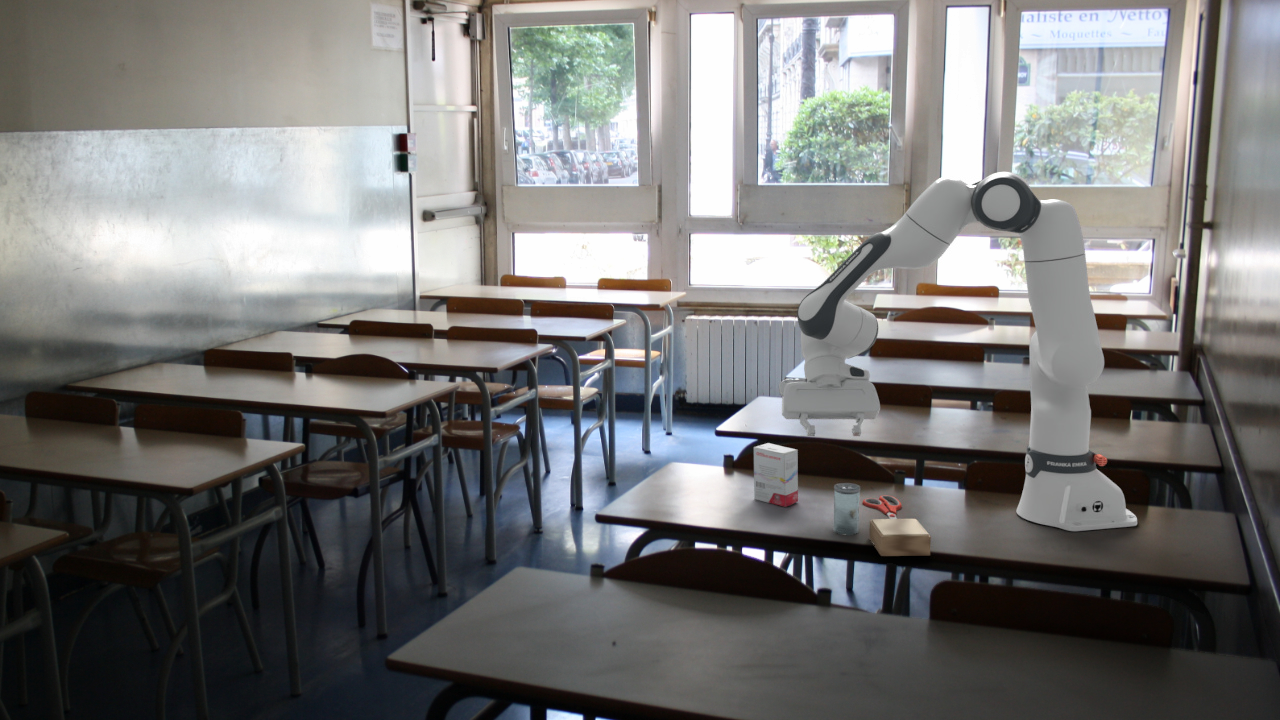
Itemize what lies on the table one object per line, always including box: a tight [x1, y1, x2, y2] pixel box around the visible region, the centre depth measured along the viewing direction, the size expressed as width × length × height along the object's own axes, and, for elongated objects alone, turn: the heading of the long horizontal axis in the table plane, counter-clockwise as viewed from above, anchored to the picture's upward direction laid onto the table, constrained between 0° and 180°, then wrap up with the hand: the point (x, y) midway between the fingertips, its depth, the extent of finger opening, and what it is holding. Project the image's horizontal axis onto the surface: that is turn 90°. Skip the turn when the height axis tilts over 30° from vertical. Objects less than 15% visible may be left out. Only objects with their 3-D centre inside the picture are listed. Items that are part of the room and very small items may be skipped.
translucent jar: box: [832, 482, 861, 536], centre depth 196 cm, size 5×5×9 cm
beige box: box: [868, 518, 932, 557], centre depth 187 cm, size 9×9×4 cm
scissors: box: [861, 494, 903, 519], centre depth 205 cm, size 8×21×2 cm, turn 8°
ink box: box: [753, 442, 799, 508], centre depth 214 cm, size 9×5×12 cm, turn 44°
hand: (834, 435), depth 206 cm, fingers open, 8 cm apart
